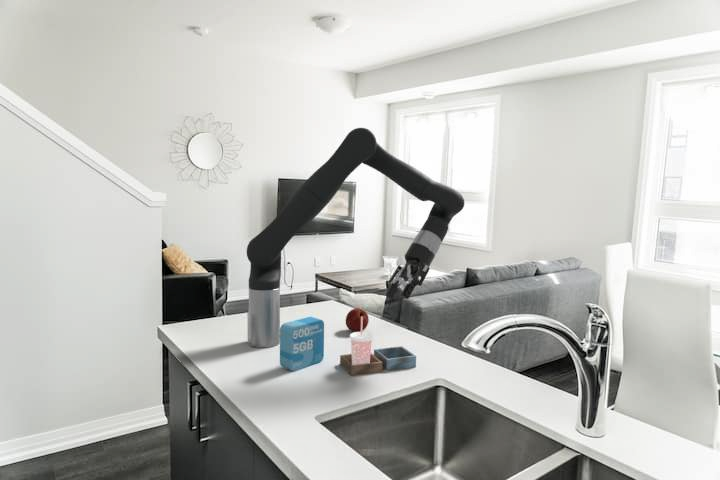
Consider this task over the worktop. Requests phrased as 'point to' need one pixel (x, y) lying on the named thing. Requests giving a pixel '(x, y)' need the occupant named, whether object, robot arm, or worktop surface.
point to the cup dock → (380, 361)
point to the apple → (356, 320)
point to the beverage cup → (361, 346)
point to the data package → (301, 343)
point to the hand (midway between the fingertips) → (396, 297)
